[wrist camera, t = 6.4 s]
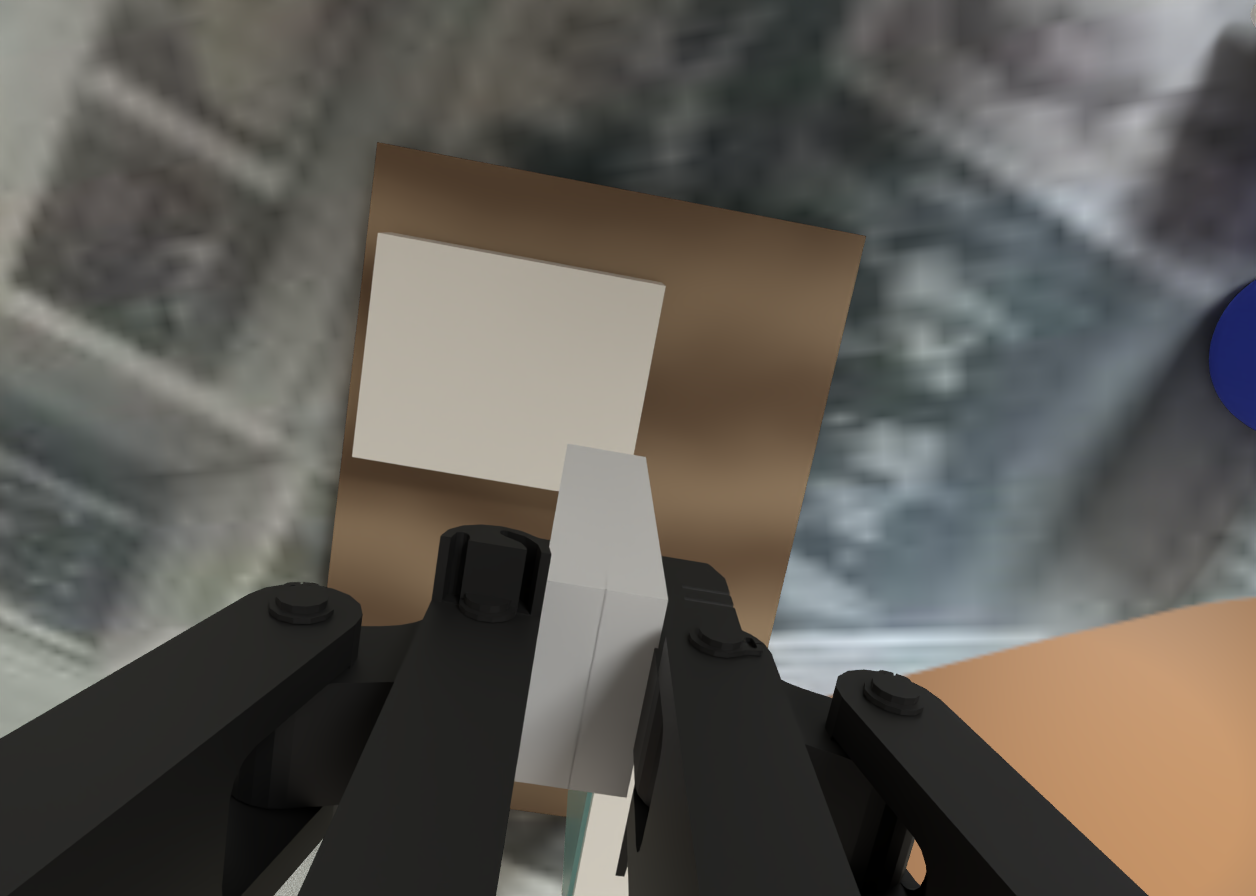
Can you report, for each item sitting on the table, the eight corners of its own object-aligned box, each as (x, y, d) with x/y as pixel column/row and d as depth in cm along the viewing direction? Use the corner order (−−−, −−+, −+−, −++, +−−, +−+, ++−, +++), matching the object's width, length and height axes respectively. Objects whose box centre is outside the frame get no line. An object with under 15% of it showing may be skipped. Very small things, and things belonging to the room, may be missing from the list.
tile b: (600, 602, 37) (599, 739, 27) (652, 611, 37) (670, 749, 27) (567, 775, 38) (555, 961, 29) (617, 782, 39) (622, 970, 29)
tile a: (661, 282, 34) (392, 232, 33) (665, 285, 31) (377, 232, 31) (623, 486, 35) (366, 442, 35) (624, 502, 33) (351, 456, 33)
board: (385, 145, 33) (377, 142, 32) (857, 235, 34) (866, 236, 33) (314, 763, 39) (305, 780, 38) (718, 821, 40) (721, 839, 39)
